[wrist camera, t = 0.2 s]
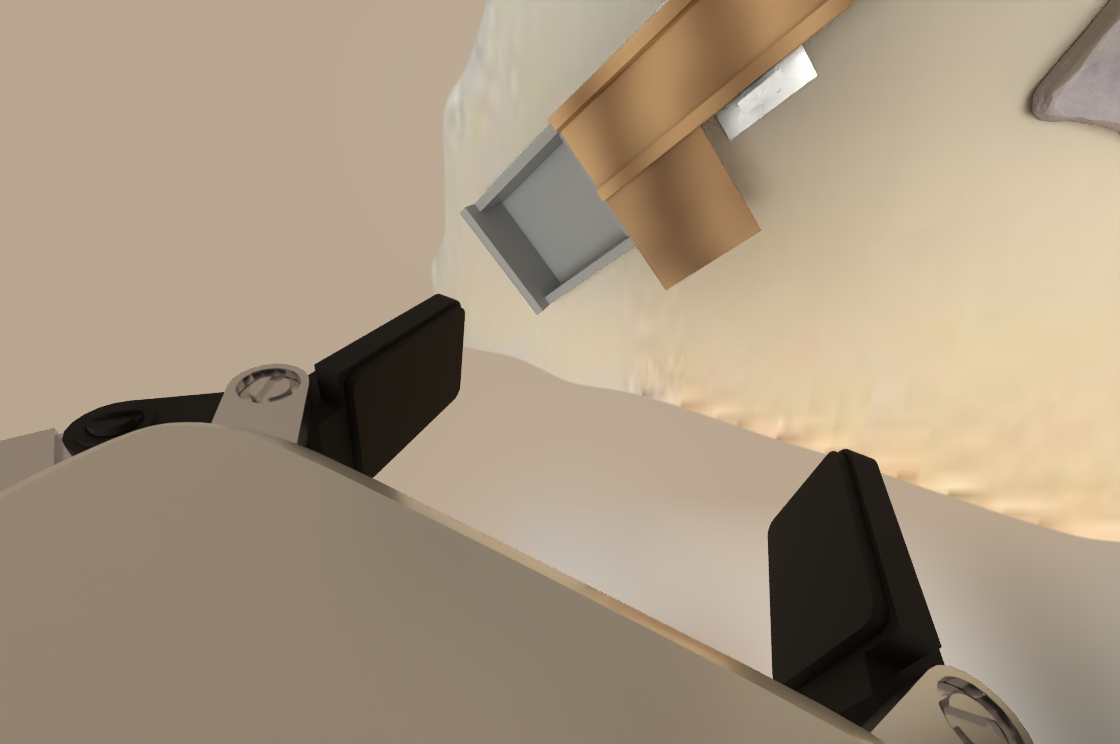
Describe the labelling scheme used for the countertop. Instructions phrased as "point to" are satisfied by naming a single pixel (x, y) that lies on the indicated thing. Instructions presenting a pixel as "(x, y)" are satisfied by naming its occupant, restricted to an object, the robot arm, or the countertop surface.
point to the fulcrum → (765, 92)
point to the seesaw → (680, 122)
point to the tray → (547, 222)
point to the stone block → (1086, 77)
